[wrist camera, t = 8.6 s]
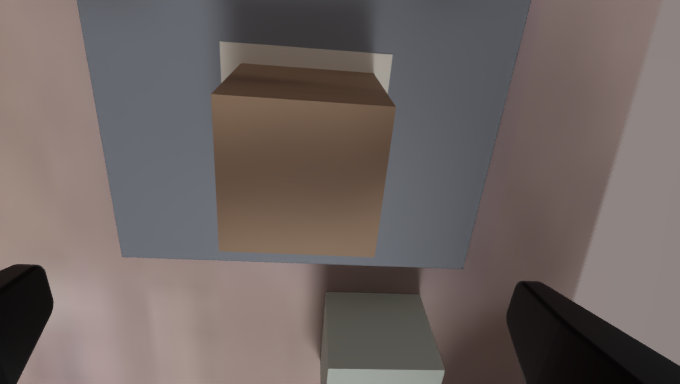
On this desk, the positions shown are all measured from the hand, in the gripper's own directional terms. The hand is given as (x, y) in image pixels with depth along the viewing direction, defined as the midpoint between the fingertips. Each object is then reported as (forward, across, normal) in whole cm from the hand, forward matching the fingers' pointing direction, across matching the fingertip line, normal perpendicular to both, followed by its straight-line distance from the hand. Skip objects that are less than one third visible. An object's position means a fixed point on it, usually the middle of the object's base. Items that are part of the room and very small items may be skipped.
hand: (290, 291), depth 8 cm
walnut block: (+10, 0, 0) cm, 10 cm away
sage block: (+11, -4, +12) cm, 16 cm away
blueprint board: (+11, 0, 0) cm, 11 cm away
